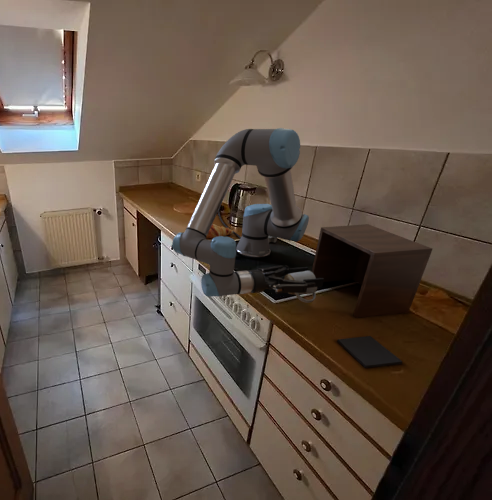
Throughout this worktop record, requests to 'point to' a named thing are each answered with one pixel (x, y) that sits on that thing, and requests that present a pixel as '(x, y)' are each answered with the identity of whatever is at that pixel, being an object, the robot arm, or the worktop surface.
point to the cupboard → (372, 266)
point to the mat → (369, 352)
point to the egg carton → (272, 239)
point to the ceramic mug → (300, 277)
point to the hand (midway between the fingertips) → (314, 276)
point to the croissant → (218, 231)
